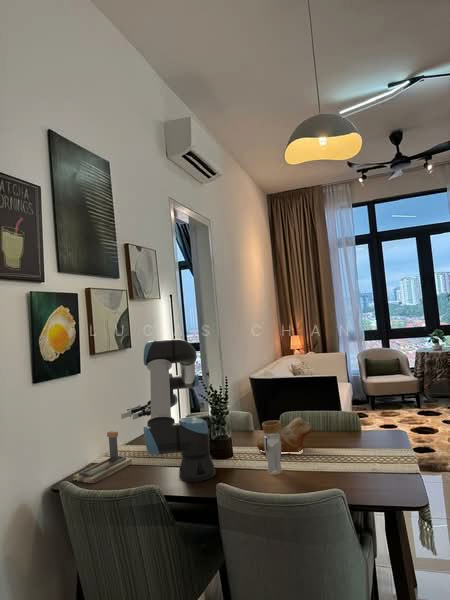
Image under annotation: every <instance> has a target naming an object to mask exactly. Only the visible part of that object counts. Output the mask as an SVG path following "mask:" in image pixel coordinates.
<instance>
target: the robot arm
mask: <svg viewBox="0 0 450 600" xmlns="http://www.w3.org/2000/svg"><path fill="white" fill-rule="evenodd" d="M197 355H198V354H197V351H196V349H195V347H194V346H193V345H192V344H191V343H190V342H189V341H186V340H185V339H182V338H172V339H170V338H169V339H160V340H156V339H154V340H150V341H147V342H146V343H145V345H144V348H143V365H144V366H146V368H147V370H148V371H149V372H150V375H149V378H150V379H149V380H150V400H148V401H147V403H146V404H144V405H140V404H139V405H137V406H134V407H131V408H127V409H126V411H124V412H121V413H120V415H121V417H120V418H121V419H122V420H124V419H126V418H128V417H129V418H130V417H132V420H138V419H140V418H142V417H145V416H146V417H149V416H150V418H149V419H148V420H147V425H145V426H144V427H143V436H144V443H145V446H146V447H145V448H146V451H147V453H148V454H149V455H151V456H155V455H156V456H157V455H158V456H160V455H165V454H166V455H167V454H174V453H175V454H177V453H181V461H180V465H179V471H178V472H179V473H178V474H179V479H180V480H181V481H184V482H186V483H187V482H188V483H200V482H203V481H204V480H205V481H208V480H210V479H212V478H213V477H215V476H216V467H215V465H214V461H213V460H212V457H211V453H210V440H209V433H210V432H209V428H208V427H209V426H208V422H207V421H206V420H204V419H203V418H199V417H191V416H190V417H183V418H182V417H181V418H180V419H179V422H176V420H175V418H174V417H172V411H171V410H172V409H171V408H173V407H174V406H176V405H177V404H178V396H177V394H176V393H174V390H179V389H180V390H182V389H194V388H195V389H196V388H199V386H200V380H199V374H198V373H196V364H195V363H196V361H197ZM173 364H179V366H180V367H179V368H180V375H179V374H178V375H173V373H172V372H170V370H171V369H172V367H173ZM199 481H200V482H199Z"/></svg>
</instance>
